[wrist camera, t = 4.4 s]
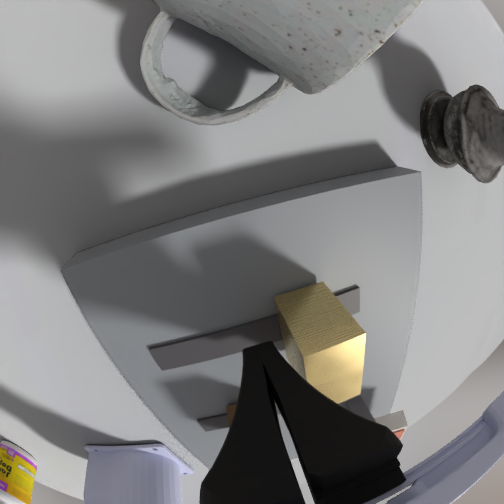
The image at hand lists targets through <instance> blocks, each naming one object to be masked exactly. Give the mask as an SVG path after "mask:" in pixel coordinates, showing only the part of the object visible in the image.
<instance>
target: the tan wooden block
mask: <svg viewBox="0 0 504 504" xmlns="http://www.w3.org/2000/svg"><path fill="white" fill-rule="evenodd" d="M274 301H275V306H276V310H277V315H278V319H279V324H280V329H281V333H282V338H283V343H284V347H285V352H286V357H287V359H288V361H289V364H290V365H291V366H292V367H293V368H294V369H295V370H296V371H297V373H298V374H300V375H301V376H302V377H303V378H304V379H305V380H306V381H307V382H308V383H310V384H311V385H312V386H313V387H314V388H316V389H317V390H318V391H320V392H321V393H322V394H324V395H325V396H327V397H328V398H330V399H331V400H333V401H334V402H336V403H337V404H339V403H341V402H344V401H346V400H348V399H351V398H353V397H355V396H357V395H360V393H361V385H362V376H363V366H364V355H365V341H366V332H365V331H364V330H363V329H362V328H361V326H360V325H359V324H358V323H357V321H356V320H355V319H354V318H353V317H352V315H351V314H350V313H349V312H348V311H347V309H346V308H345V307H344V306H343V305H342V303H341V302H340V301H339V300H338V299H337V297H336V296H335V295H334V294H333V293H332V292H331V290H330V289H329V288H328V287H327V286H326V284H325V283H324V282H323V281H322V282H319V283H316V284H313V285H310V286H307V287H304V288H300V289H297V290H294V291H291V292H288V293H285V294H281V295H278V296H275V297H274Z"/></svg>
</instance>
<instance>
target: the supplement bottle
mask: <svg viewBox="0 0 504 504" xmlns="http://www.w3.org/2000/svg"><path fill="white" fill-rule="evenodd" d="M36 470H37V461H36V460H35V459H34V458H33V457H32V456H31V455H30V454H29V453H27V452H26V451H25V450H23V449H22V448H20V447H18V446H17V445H15V444H13V443H11V442H8V441H4V440H3V441H1V442H0V504H30V502H31V496H32V490H33V484H34V479H35V475H36Z"/></svg>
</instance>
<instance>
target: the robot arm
mask: <svg viewBox="0 0 504 504" xmlns="http://www.w3.org/2000/svg"><path fill="white" fill-rule="evenodd" d="M242 354H243V368H242V378H241V386H240V391H239V396H238V401H237V405H236V409H235V413H234V416H233V420H232V423H231V426H230V428H229V431H228V434H227V436H226V439H225V441H224V444H223V446H222V448H221V450H220V452H219V454H218V456H217V458H216V460H215V462H214V464H213V465H212V467H211V469H210V470H209V472H208V474H207V475H206V477H205V478H204V480H203V482H202V483H201V489H200V504H305V501H304V498H303V495H302V493H301V490H300V487H299V484H298V481H297V478H296V476H295V473H294V470H293V467H292V464H291V461H290V458H289V455H288V452H287V449H286V446H285V443H284V440H283V437H282V433H281V428H280V424H279V419H278V415H277V410H276V405H277V407H278V409H279V411H280V413H281V416H282V418H283V420H284V422H285V424H286V426H287V429H288V431H289V433H290V436H291V438H292V441H293V444H294V447H295V449H296V452H297V455H298V458H299V461H300V464H301V466H302V469H303V472H304V475H305V478H306V480H307V483H308V486H309V489H310V492H311V494H312V497H313V500H314V503H315V504H376V503H378V502H380V501H382V500H384V499H385V498H388V497H390V496H392V495H393V494H395V493H397V492H399V491H401V490H402V489H404V488H406V487H408V486H410V485H411V484H412V486H411V487H410V488H409V489H407V490H406V491H404V492H402V493H401V494H399V495H397V496H396V497H394V498H392V499H390V500H389V501H388V502H387V503H386V504H452V503H453V502H454V501H455V500H457V499H458V498H459V497H460V496H462V495H463V494H464V493H465V492H466V491H467V490H469V489H470V488H471V487H472V486H473V485H474V484H475V483H476V482H477V481H479V479H480V478H482V477H483V476H484V475H485V474H486V473H487V472H488V471H489V470H490V469H491V468H492V467H493V466H494V465H495V464H496V463H497V462H498V460H499V459H500V458H501V457H502V456H503V455H504V391H503V392H502V393H501V394H500V395H499V396H498V397H497V398H496V400H494V401H493V402H492V403H491V404H490V405H489V406H488V408H487V409H486V410H485V411H484V413H483V414H482V416H481V417H480V418H479V419H478V420H477V421H475V422H474V423H473V424H472V425H471V426H470V427H469V428H467V429H466V430H465V431H464V432H462V433H461V434H460V435H459V436H457V437H456V438H455V439H454V440H452V441H451V442H450V443H448V444H447V445H446V446H444V447H443V448H441V449H440V450H439V451H437V452H436V453H434V454H433V455H432V456H430V457H428V458H427V459H425V460H424V461H422V462H421V463H419V464H417V465H416V466H414V467H413V468H411V469H410V470H408V471H406V472H404V473H402V471H401V469H400V467H399V466H400V462H399V461H398V459H397V456H398V454H399V453H400V451H401V449H402V446H403V445H402V443H401V441H400V440H399V438H398V437H397V436H396V435H395V434H394V433H393V432H392V431H391V430H390V429H389V428H388V427H387V426H384V425H382V424H379V423H376V422H374V421H371V420H369V419H366V418H364V417H362V416H360V415H358V414H355V413H353V412H352V411H350V410H348V409H346V408H344V407H343V406H341V405H339V404H337V403H336V402H334V401H333V400H331V399H330V398H328V397H327V396H325V395H324V394H322V393H321V392H320V391H318V390H317V389H316V388H314V387H313V386H312V385H311V384H310V383H308V382H307V381H306V380H305V379H304V378H303V377H302V376H301V375H300V374H298V373H297V371H296V370H295V369H294V368H293V367H292V366H291V365H290V364H289V363H288V362H287V361H286V360H285V359H284V357H283V356H282V355H281V354H280V352H279V351H278V350H277V348H276V347H275V345H274V343H273V342H272V341H267V342H264V343H261V344H257V345H254V346H250V347H247V348H244V349H243V350H242ZM274 400H275V401H274ZM275 402H276V405H275ZM85 450H86V451H87V452H89V456H88V463H87V470H86V478H85V487H84V502H85V504H183V498H182V487H181V475H191V474H194V470H193V469H191V468H190V467H189V466H188V465H186V464H185V463H184V462H183V461H182V460H180V459H179V458H178V457H177V456H176V455H175V454H173V453H172V452H171V451H170V450H169V449H168V448H167V447H166V446H165V445H163V444H147V445H129V446H85Z"/></svg>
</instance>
